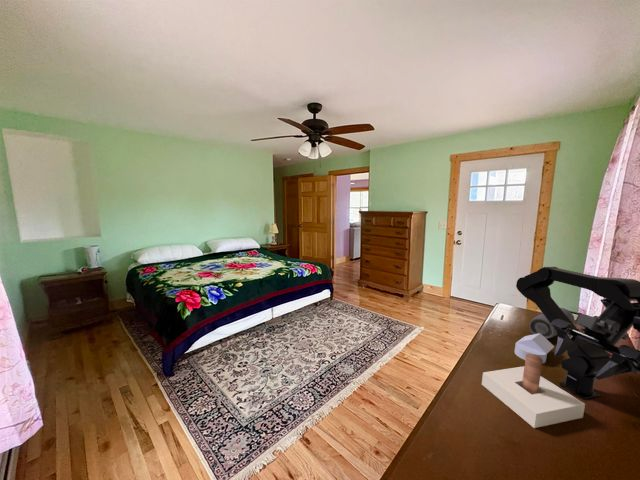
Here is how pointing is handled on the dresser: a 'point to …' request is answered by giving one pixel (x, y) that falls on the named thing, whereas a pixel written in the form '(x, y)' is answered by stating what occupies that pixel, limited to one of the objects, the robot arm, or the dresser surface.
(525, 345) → the wedge on round base
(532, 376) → the peg
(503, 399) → the hole block
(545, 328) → the bluetooth speaker
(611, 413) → the dresser surface
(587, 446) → the dresser surface
